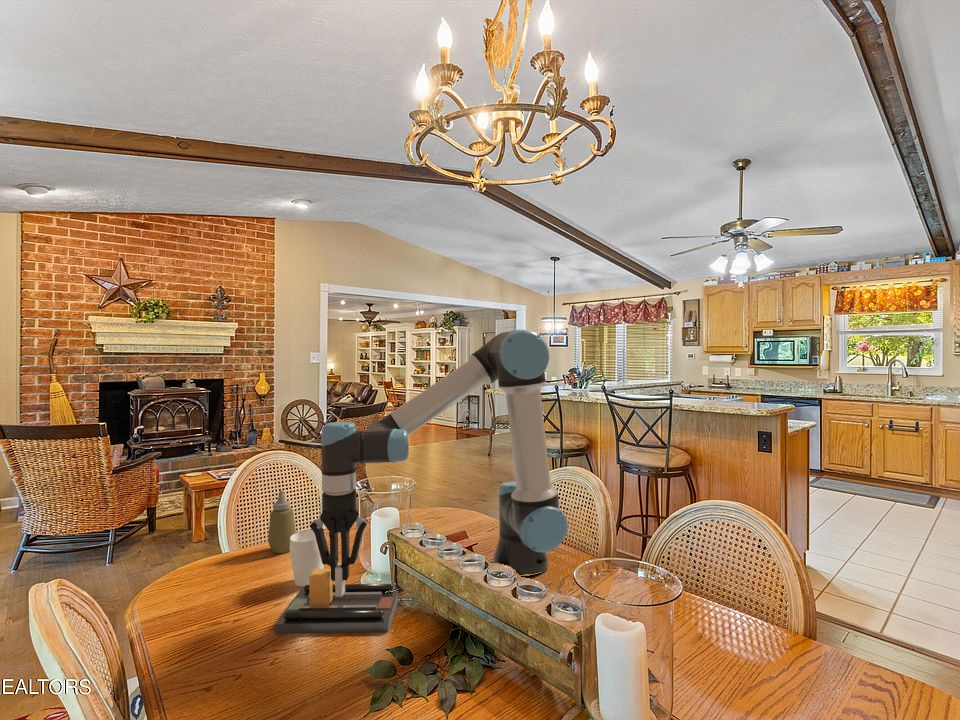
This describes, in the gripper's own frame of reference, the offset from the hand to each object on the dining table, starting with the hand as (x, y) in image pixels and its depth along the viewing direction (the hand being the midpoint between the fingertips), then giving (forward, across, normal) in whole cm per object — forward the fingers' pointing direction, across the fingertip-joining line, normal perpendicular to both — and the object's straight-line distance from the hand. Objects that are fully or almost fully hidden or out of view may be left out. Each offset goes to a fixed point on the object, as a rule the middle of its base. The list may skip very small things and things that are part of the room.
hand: (340, 593), depth 113 cm
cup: (+5, +13, -16) cm, 21 cm away
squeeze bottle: (+5, +28, -37) cm, 47 cm away
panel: (+4, 0, 0) cm, 4 cm away
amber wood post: (+2, +4, 0) cm, 5 cm away
